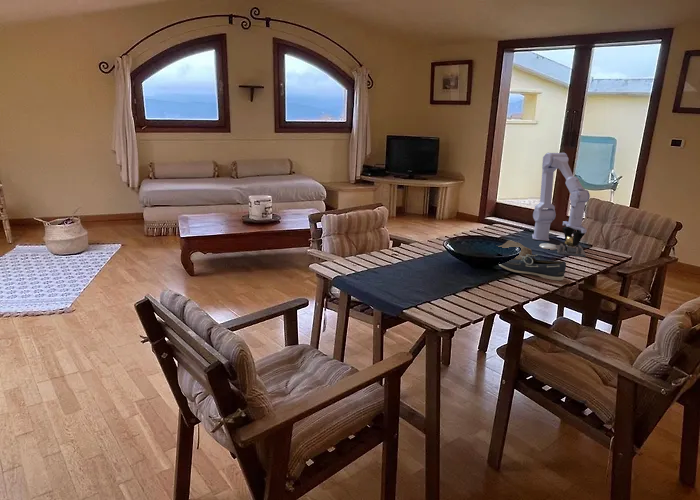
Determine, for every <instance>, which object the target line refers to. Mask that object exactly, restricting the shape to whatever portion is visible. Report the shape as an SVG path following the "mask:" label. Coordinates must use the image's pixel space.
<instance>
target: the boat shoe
mask: <svg viewBox="0 0 700 500" xmlns="http://www.w3.org/2000/svg"><path fill="white" fill-rule="evenodd" d="M537 256H538V254H532V255H530V254H527V255H526V256H520V257H522V259H521V260H513V259H511V260H509V261H507V262H505V263H502V264H499V263H498V265H499V267H501V268H502V269H504V270H507V271H509V272H513V273H517V274H524V275H525V274H526V275H532V276H539V277H540V278H543V279H547V280H552V281H563V280H564V279H565V274H566V272H567V271H566V269H567V262H566V261H562V260H545V259H536V258H535V257H537Z"/></svg>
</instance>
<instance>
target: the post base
mask: <svg viewBox="0 0 700 500" xmlns="http://www.w3.org/2000/svg"><path fill="white" fill-rule="evenodd" d="M555 245H556V248H557V249H556V250H555V251H556V253H557V254H558V255H564V254H565V255H566V256H573V257H574V256H576V257H582V258H587V254H586V252H585V250H584V248H583V247H582V245H579V244H578V246H570V245H567V244H565V243H564V244H563V243H559V244H555Z"/></svg>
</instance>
